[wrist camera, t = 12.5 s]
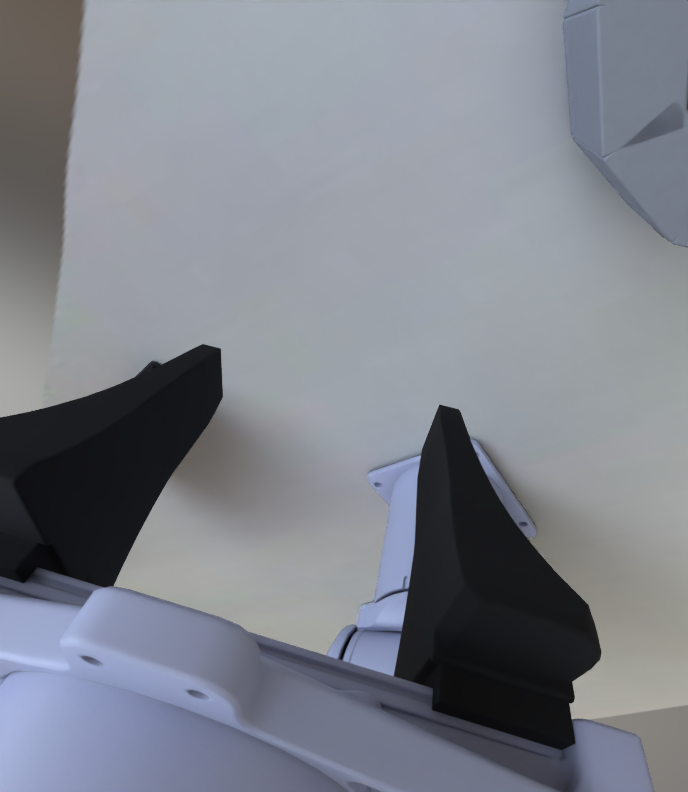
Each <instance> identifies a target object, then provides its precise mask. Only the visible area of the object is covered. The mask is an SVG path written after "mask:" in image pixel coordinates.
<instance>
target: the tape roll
mask: <svg viewBox="0 0 688 792" xmlns="http://www.w3.org/2000/svg"><path fill="white" fill-rule="evenodd" d="M563 18H564V21H563V29H564V43H565V56H566V70H567V84H568V97H569V111H570V125H571V134H572V136H573V140H574V141H575V142H576V143H577V144H578V146H579V147H580V148H581V149H582V150H583V152H584V153H585V154H586V155H587V156H588V158H589V159H590V160H591V161H592V162H593V164H594V165H595V166H596V167H597V168H598V170H599V171H600V172H601V173H602V174H603V176H604V177H605V178H606V179H607V180H608V182H609V183H610V184H611V185H612V186H613V188H614V189H615V190H616V191H617V192H618V194H619V195H620V196H621V197H622V198H623V200H624V201H625V202H626V203H627V204H628V205H629V206H630V207H631V208H632V209H634V210H635V211H636V212H637V213H638V214H639V215H640V216H641V217H642V218H644V219H645V220H646V221H647V222H648V223H649V224H650V225H651V226H652V227H653V228H655V229H656V230H657V231H658V232H659V233H660V234H661V235H662V236H663V237H665V238H666V239H667V240H668V241H670V242H671V243H673V244H675V245H679V246H684V247H688V0H569V2H568V5H567V8H566V11H565V13H564V17H563Z"/></svg>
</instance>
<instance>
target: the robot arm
mask: <svg viewBox="0 0 688 792" xmlns="http://www.w3.org/2000/svg"><path fill="white" fill-rule="evenodd" d="M222 397H223V390H222V368H221V349H220V348H216V347H212V346H208V345H204V344H202V345H200V346H198V347H196V348H194V349H192V350H190V351H188V352H186V353H184V354H182V355H180V356H178V357H176V358H174V359H172V360H170V361H168V362H166V363H164V364H162V365H160V366H158V367H156V368H154V369H152V370H150V371H148V372H146V373H143V374H141V375H139V376H137V377H134V378H132V379H130V380H128V381H125V382H123V383H121V384H119V385H116V386H114V387H111V388H108V389H106V390H103V391H100V392H97V393H95V394H92V395H89V396H86V397H83V398H80V399H76V400H73V401H69V402H66V403H62V404H58V405H55V406H51V407H48V408H44V409H39V410H35V411H31V412H26V413H22V414H17V415H12V416H7V417H1V418H0V792H654V788H653V784H652V781H651V777H650V773H649V769H648V765H647V761H646V758H645V753H644V750H643V746H642V742H641V738H640V737H638V736H637V735H636V734H634V733H631V732H628V731H625V730H621V729H618V728H615V727H611V726H608V725H605V724H602V723H598V722H595V721H591V720H586V719H571V713H570V707H569V703H572V702H574V698H575V696H574V691H573V685H572V681H574V680H575V679H577V678H578V677H580V676H581V675H583V674H584V673H585V672H587V671H588V670H590V669H591V668H592V667H593V666H594V665H595V664H596V663H597V662H598V661H599V660H600V657H601V648H600V644H599V639H598V635H597V631H596V627H595V623H594V621H593V618H592V615H591V612H590V609H589V605H588V604H587V603H586V602H585V601H584V600H583V599H582V598H581V597H580V596H579V595H578V594H577V593H576V592H575V591H574V590H573V589H572V588H571V587H570V586H569V585H568V584H567V583H566V582H565V581H564V580H563V579H562V578H561V577H560V576H559V575H558V574H557V573H556V572H555V571H554V570H553V568H552V567H551V566H550V565H549V564H548V563H547V562H546V561H545V559H544V558H543V557H542V556H541V555H540V554H539V552H538V551H537V550H536V549H535V548H534V546H533V545H532V544H531V543H530V541H529V540H528V539H527V538H530V537H534V536H536V535H537V528H536V526H535V525H534V523H533V522H532V520H531V519H530V518H529V516H528V515H527V513H526V512H525V510H524V509H523V507H522V506H521V504H520V503H519V501H518V500H517V498H516V497H515V495H514V494H513V493H512V491H511V490H510V488H509V487H508V485H507V484H506V482H505V481H504V479H503V478H502V476H501V475H500V473H499V472H498V470H497V469H496V468H495V466H494V465H493V463H492V462H491V460H490V459H489V457H488V456H487V454H486V453H485V451H484V450H483V448H482V447H481V446H480V444H479V443H478V442H477V441H476V440H472V439H470V437H469V434H468V432H467V429H466V426H465V424H464V421H463V418H462V415H461V412H460V411H459V410H458V409H455V408H451V407H447V406H443V405H439V407H438V410H437V412H436V415H435V418H434V420H433V423H432V425H431V428H430V430H429V433H428V436H427V438H426V441H425V443H424V446H423V449H422V453H421V455H419V456H416V457H413V458H410V459H407V460H404V461H401V462H398V463H395V464H392V465H389V466H386V467H383V468H380V469H377V470H374V471H371V472H369V473H368V475H367V481H368V482H369V483H370V484H371V485H372V487H373V488H374V489H375V490H376V491H377V492H378V493H379V494H380V496H381V497H382V498H383V499H384V500H385V501H386V502H387V504H388V505H389V506H390V508H389V514H388V520H387V526H386V532H385V538H384V544H383V550H382V556H381V562H380V568H379V574H378V580H377V586H376V592H375V598H374V603H373V604H362V605H361V608H360V614H359V619H358V624H357V625H353V624H352V625H349V626H346V627H345V628H344V629H342V631H341V632H340V633H339V634H338V636H337V637H336V639H335V641H334V642H333V644H332V645H331V647H330V648H329V650H328V653H327V655H322V654H319V653H316V652H313V651H309V650H306V649H303V648H300V647H296V646H293V645H290V644H286V643H283V642H280V641H277V640H273V639H270V638H267V637H264V636H260V635H257V634H254V633H251V632H248V631H246V630H245V629H244V628H242V627H241V626H240V625H237V624H235V623H233V622H230V621H228V620H226V619H223V618H221V617H218V616H215V615H211V614H208V613H205V612H202V611H198V610H195V609H192V608H188V607H185V606H182V605H179V604H175V603H172V602H169V601H166V600H162V599H159V598H156V597H152V596H149V595H146V594H143V593H139V592H136V591H133V590H129V589H125V588H119V587H113V586H114V583H115V581H116V579H117V577H118V575H119V573H120V570H121V568H122V566H123V564H124V562H125V560H126V558H127V556H128V554H129V552H130V550H131V548H132V546H133V544H134V542H135V540H136V538H137V536H138V534H139V532H140V530H141V528H142V526H143V524H144V522H145V520H146V519H147V517H148V515H149V513H150V511H151V509H152V507H153V506H154V504H155V502H156V500H157V499H158V497H159V495H160V493H161V492H162V490H163V488H164V486H165V484H166V483H167V481H168V480H169V478H170V477H171V475H172V474H173V472H174V471H175V469H176V468H177V467H178V465H179V464H180V462H181V461H182V460H183V458H184V457H185V456H186V454H187V453H188V451H189V450H190V449H191V447H192V446H193V445H194V443H195V442H196V440H197V439H198V438H199V436H200V435H201V433H202V432H203V431H204V429H205V428H206V426H207V425H208V424H209V422H210V420H211V419H212V417H213V415H214V413H215V411H216V409H217V407H218V405H219V403H220V401H221V399H222ZM476 452H478V453H476ZM377 482H379V483H377Z"/></svg>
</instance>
